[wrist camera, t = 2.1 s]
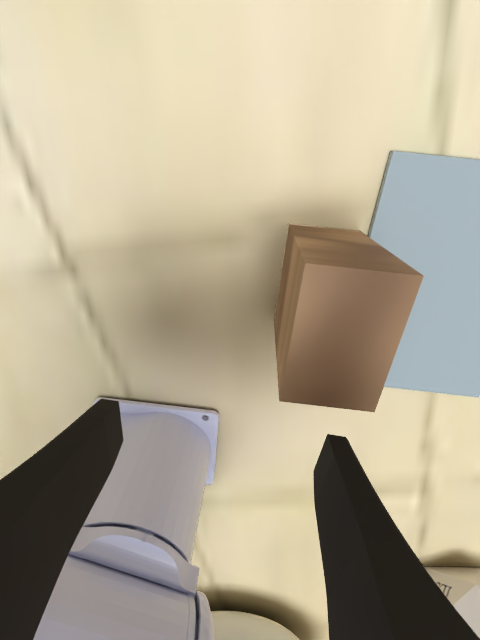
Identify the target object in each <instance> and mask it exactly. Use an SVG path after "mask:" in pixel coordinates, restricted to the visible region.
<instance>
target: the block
mask: <svg viewBox="0 0 480 640" xmlns="http://www.w3.org/2000/svg"><path fill="white" fill-rule="evenodd" d="M423 277H424V276H423V275H422V274H420V273H419V272H418V271H416V270H415V269H413V268H412V267H410V266H409V265H408V264H406V263H405V262H403V261H402V260H401V259H399V258H398V257H396V256H395V255H393V254H392V253H391V252H389V251H388V250H386V249H385V248H383V247H382V246H381V245H379V244H378V243H376V242H375V241H374V240H372V239H371V238H369V237H368V236H366V235H365V234H364V233H362V232H361V231H357V230H347V229H338V228H328V227H319V226H309V225H300V224H290V223H289V224H288V230H287V237H286V243H285V250H284V256H283V263H282V269H281V276H280V282H279V289H278V295H277V302H276V308H275V315H274V328H275V342H276V357H277V372H278V387H279V401H283V402H291V403H300V404H309V405H317V406H326V407H335V408H343V409H352V410H361V411H369V412H375V409H376V406H377V404H378V401H379V398H380V395H381V393H382V390H383V387H384V384H385V381H386V379H387V376H388V373H389V370H390V368H391V365H392V362H393V359H394V357H395V354H396V351H397V348H398V346H399V343H400V340H401V337H402V335H403V332H404V329H405V326H406V324H407V321H408V318H409V315H410V313H411V310H412V307H413V304H414V302H415V299H416V296H417V293H418V291H419V288H420V285H421V282H422V279H423Z"/></svg>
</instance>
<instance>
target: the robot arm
mask: <svg viewBox="0 0 480 640" xmlns="http://www.w3.org/2000/svg"><path fill="white" fill-rule="evenodd" d="M203 415H206V416H208V417H205V416H203ZM218 424H219V414H218V412H216V411H213V410H205V409H197V408H188V407H179V406H171V405H162V404H154V403H145V402H136V401H128V400H119V399H111V398H102V397H99V398H97V399H96V400H95V402H94V405H93V406H92V407H91V408H90V409H88V410H87V411H86V412H85V413H84V414H83V415H82V416H80V417H79V418H78V419H77V420H76V421H75V422H73V423H72V424H71V425H70V426H69V427H68V428H66V429H65V430H64V431H63V432H62V433H60V434H59V435H58V436H57V437H55V438H54V439H53V440H52V441H51V442H49V443H48V444H47V445H46V446H45V447H43V448H42V449H41V450H39V451H38V452H37V453H36V454H34V455H33V456H32V457H30V458H29V459H28V460H26V461H25V462H24V463H22V464H21V465H20V466H19V467H17V468H16V469H15V470H13V471H12V472H11V473H9V474H8V475H6V476H5V477H4V478H2V479H1V480H0V640H214V622H213V617H212V614H211V611H210V606H209V602H208V599H207V597H206V595H205V594H204V593H203V592H200V591H197V590H196V588H197V581H198V575H199V568H198V567H196V566H194V565H192V564H191V559H192V554H193V548H194V542H195V537H196V531H197V526H198V520H199V515H200V509H201V504H202V498H203V493H204V487H205V485H210V484H212V483H213V482H214V474H215V461H216V449H217V437H218ZM314 501H315V510H316V518H317V525H318V533H319V540H320V547H321V554H322V561H323V569H324V576H325V584H326V594H327V607H328V624H329V640H480V638H479V637H478V636H477V635H476V633H475V632H474V631H473V630H472V629H471V627H470V626H469V625H468V624H467V622H466V621H465V620H464V619H463V618H462V616H461V615H460V614H459V613H458V611H457V610H456V609H455V608H454V606H453V605H452V604H451V603H450V601H449V600H448V599H447V597H446V596H445V595H444V593H443V592H442V591H441V589H440V588H439V587H438V585H437V584H436V583H435V581H434V580H433V579H432V577H431V576H430V575H429V573H428V572H427V570H426V569H425V568H424V566H423V565H422V563H421V562H420V561H419V559H418V558H417V556H416V555H415V553H414V552H413V551H412V549H411V548H410V546H409V545H408V543H407V542H406V540H405V539H404V537H403V535H402V534H401V532H400V531H399V529H398V528H397V526H396V525H395V523H394V522H393V520H392V518H391V517H390V515H389V513H388V512H387V510H386V509H385V507H384V505H383V503H382V502H381V500H380V498H379V497H378V495H377V493H376V492H375V490H374V488H373V486H372V485H371V483H370V481H369V479H368V477H367V476H366V474H365V472H364V470H363V468H362V466H361V465H360V463H359V461H358V459H357V457H356V455H355V453H354V451H353V449H352V447H351V445H350V443H349V441H348V440H347V438H346V437H342V436H336V435H329V434H327V437H326V439H325V442H324V445H323V448H322V450H321V453H320V456H319V458H318V461H317V464H316V466H315V469H314Z"/></svg>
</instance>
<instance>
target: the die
mask: <svg viewBox="0 0 480 640" xmlns="http://www.w3.org/2000/svg"><path fill="white" fill-rule="evenodd" d="M424 568H425V569H426V570H427V572H428V573H429V575H430V576H431V577H432V579H433V580H434V581H435V583H436V584H437V585H438V587H439V588H440V589H441V591H442V592H443V593H444V595H445V596H446V597H447V599H448V600H449V601H450V603H451V604H452V605H453V606H454V608H455V609H456V610H457V611H458V613H459V614H460V615H461V616H462V618H463V619H464V620H465V621H466V622H467V624H468V625H469V626H470V627H471V629H472V630H473V631H474V632H475V633H476V635H477V636H478V637H479V638H480V568H468V567H424Z"/></svg>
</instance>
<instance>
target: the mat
mask: <svg viewBox="0 0 480 640" xmlns="http://www.w3.org/2000/svg"><path fill="white" fill-rule="evenodd" d="M368 237H369V238H371V239H372V240H374V241H375V242H376V243H378V244H379V245H381V246H382V247H383V248H385V249H386V250H388V251H389V252H391V253H392V254H393V255H395V256H396V257H398V258H399V259H401V260H402V261H403V262H405V263H406V264H408V265H409V266H410V267H412V268H413V269H415V270H416V271H418V272H419V273H420V274H422V275H423V276H424V277H423V279H422V282H421V285H420V288H419V291H418V293H417V296H416V299H415V302H414V304H413V307H412V310H411V313H410V315H409V318H408V321H407V324H406V326H405V329H404V332H403V335H402V337H401V340H400V343H399V346H398V348H397V351H396V354H395V357H394V359H393V362H392V365H391V368H390V370H389V373H388V376H387V379H386V381H385V384H384V387H390V388H399V389H408V390H417V391H425V392H434V393H443V394H452V395H461V396H469V397H479V395H480V160H478V159H468V158H458V157H448V156H438V155H428V154H418V153H408V152H398V151H390V155H389V158H388V162H387V166H386V170H385V173H384V177H383V181H382V185H381V188H380V192H379V196H378V200H377V204H376V207H375V211H374V215H373V219H372V222H371V226H370V230H369V234H368Z"/></svg>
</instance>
